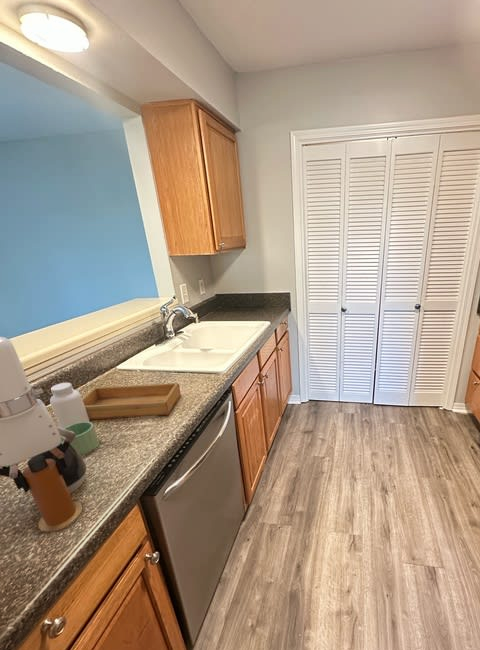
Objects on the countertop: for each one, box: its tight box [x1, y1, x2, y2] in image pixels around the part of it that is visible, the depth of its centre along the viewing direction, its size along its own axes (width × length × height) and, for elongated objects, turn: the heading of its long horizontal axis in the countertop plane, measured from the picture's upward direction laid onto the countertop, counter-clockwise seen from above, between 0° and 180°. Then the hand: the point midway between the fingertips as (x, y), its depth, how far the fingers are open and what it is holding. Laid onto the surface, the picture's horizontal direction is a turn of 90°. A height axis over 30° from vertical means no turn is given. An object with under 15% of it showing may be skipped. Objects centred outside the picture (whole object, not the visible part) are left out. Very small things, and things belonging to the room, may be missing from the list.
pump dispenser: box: [30, 437, 87, 494], centre depth 76 cm, size 10×10×15 cm
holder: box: [60, 421, 100, 456], centre depth 93 cm, size 8×8×6 cm
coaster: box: [37, 500, 83, 533], centre depth 71 cm, size 8×8×1 cm
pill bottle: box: [49, 382, 91, 428], centre depth 101 cm, size 8×8×15 cm
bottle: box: [22, 455, 76, 526], centre depth 68 cm, size 6×6×15 cm
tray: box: [81, 382, 181, 421], centre depth 114 cm, size 31×15×6 cm, turn 94°
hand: (44, 479), depth 67 cm, fingers closed on bottle, 5 cm apart
